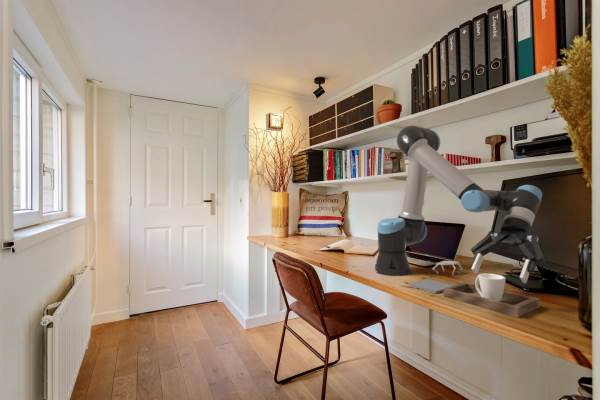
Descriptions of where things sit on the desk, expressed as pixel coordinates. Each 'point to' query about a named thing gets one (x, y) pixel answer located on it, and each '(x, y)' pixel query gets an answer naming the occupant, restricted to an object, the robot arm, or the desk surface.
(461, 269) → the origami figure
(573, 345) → the desk surface
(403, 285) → the desk surface
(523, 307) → the tray
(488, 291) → the cup
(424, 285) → the grey mat
